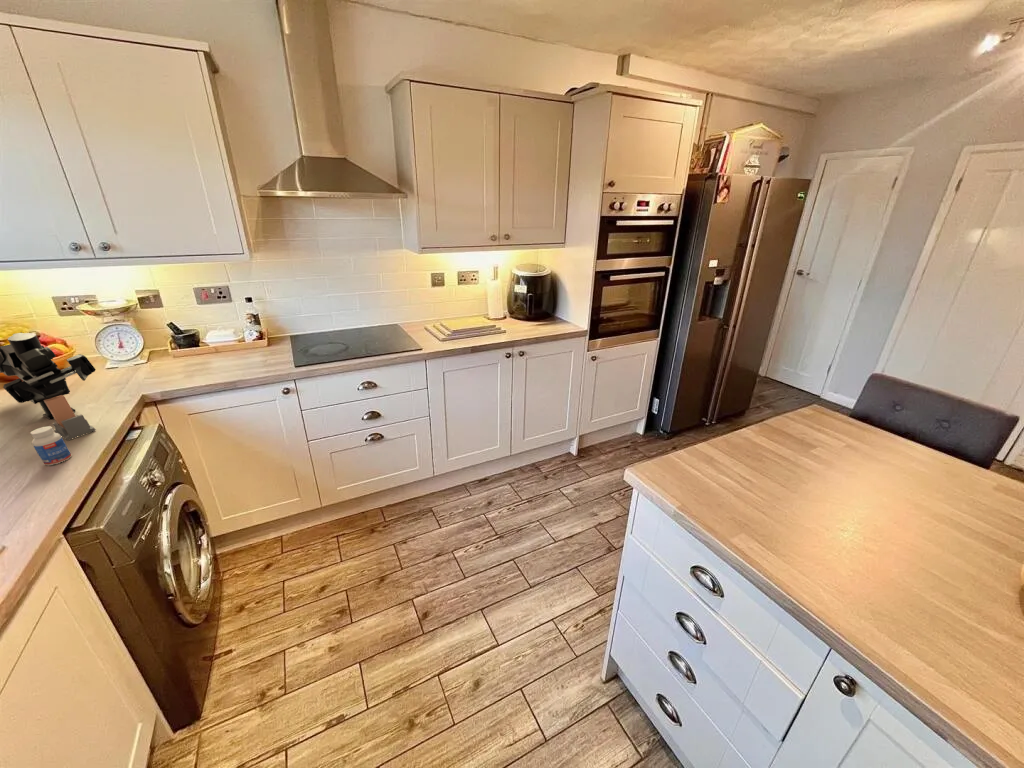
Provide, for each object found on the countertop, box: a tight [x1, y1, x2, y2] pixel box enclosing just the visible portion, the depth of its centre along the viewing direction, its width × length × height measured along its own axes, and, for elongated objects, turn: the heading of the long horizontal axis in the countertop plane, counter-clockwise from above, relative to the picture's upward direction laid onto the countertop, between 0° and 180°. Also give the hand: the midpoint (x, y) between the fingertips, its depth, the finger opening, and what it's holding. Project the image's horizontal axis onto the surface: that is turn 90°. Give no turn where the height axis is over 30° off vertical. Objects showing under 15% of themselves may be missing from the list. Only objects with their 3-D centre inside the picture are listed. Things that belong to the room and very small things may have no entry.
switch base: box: [51, 414, 96, 441], centre depth 125 cm, size 10×6×6 cm, turn 62°
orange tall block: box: [44, 395, 76, 430], centre depth 125 cm, size 2×4×10 cm, turn 152°
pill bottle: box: [30, 425, 72, 466], centre depth 111 cm, size 6×5×10 cm
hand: (64, 387), depth 120 cm, fingers open, 9 cm apart
